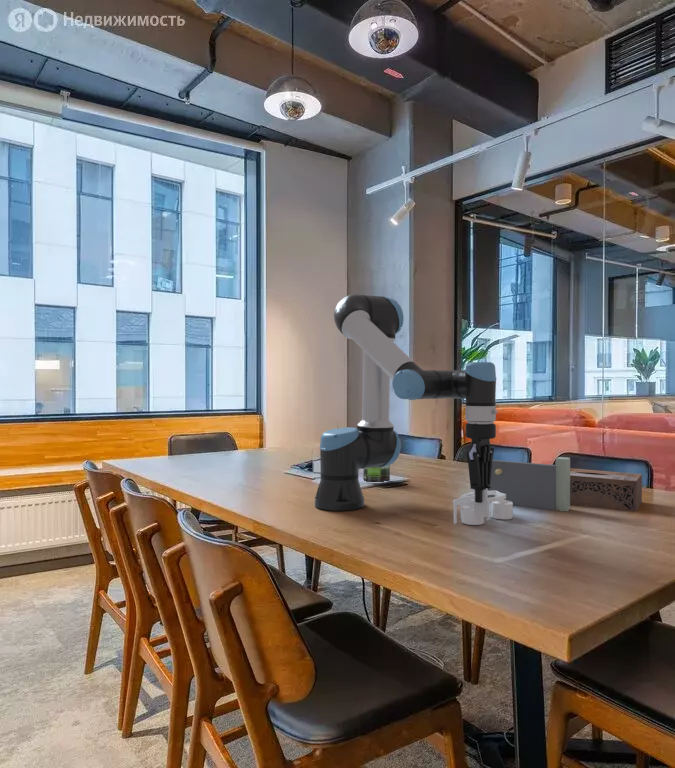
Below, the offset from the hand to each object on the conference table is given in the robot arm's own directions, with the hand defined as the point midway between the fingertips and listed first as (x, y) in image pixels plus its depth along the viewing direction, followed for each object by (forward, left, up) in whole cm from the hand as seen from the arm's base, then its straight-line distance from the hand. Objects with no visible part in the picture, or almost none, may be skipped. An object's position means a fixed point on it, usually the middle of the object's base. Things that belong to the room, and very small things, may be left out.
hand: (480, 514), depth 148 cm
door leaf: (+31, 0, -5) cm, 31 cm away
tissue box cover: (+50, -16, -5) cm, 53 cm away
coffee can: (+44, +59, -5) cm, 74 cm away
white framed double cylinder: (+9, +4, -5) cm, 11 cm away
